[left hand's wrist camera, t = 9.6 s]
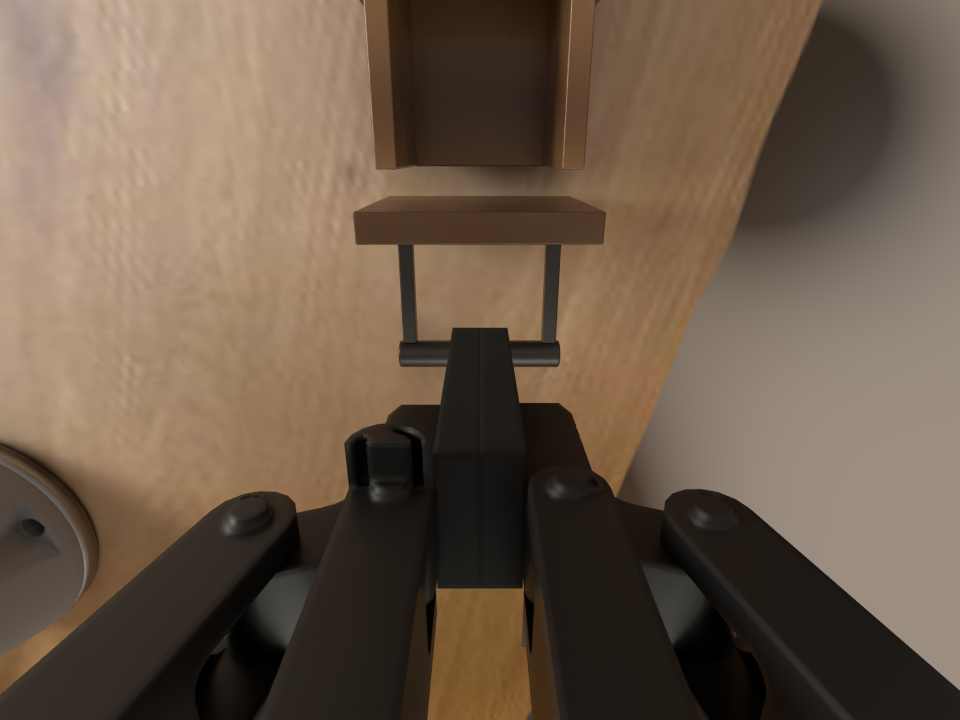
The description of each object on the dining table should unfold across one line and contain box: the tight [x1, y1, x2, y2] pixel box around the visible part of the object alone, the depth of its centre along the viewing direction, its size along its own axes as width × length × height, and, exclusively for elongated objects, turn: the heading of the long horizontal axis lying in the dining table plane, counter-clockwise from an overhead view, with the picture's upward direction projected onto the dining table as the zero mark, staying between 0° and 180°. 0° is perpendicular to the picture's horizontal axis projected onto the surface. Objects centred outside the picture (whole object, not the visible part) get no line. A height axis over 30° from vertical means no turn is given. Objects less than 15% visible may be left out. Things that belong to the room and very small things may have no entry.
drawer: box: [353, 0, 606, 367], centre depth 21 cm, size 26×9×8 cm, turn 0°
